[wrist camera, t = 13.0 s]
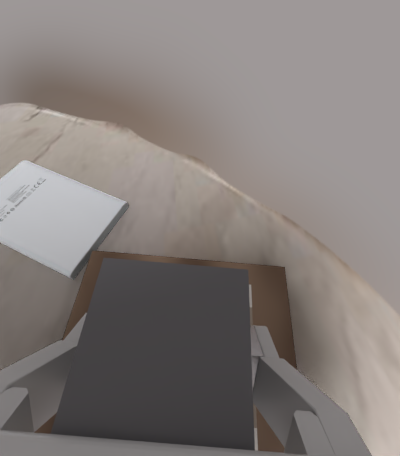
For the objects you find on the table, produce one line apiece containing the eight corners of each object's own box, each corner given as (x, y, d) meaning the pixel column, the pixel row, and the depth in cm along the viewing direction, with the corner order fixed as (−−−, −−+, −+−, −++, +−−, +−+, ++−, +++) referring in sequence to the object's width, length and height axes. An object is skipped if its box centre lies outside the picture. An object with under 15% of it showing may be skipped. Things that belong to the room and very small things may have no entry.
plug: (137, 392, 12) (43, 455, 4) (150, 313, 14) (103, 257, 6) (212, 398, 12) (255, 471, 4) (215, 318, 14) (248, 269, 6)
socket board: (21, 486, 13) (-31, 526, 10) (96, 255, 20) (79, 236, 17) (306, 509, 13) (343, 556, 10) (280, 271, 20) (297, 255, 17)
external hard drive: (76, 282, 19) (-34, 226, 21) (130, 210, 23) (33, 168, 25) (68, 276, 18) (-49, 217, 20) (127, 200, 22) (24, 156, 24)
